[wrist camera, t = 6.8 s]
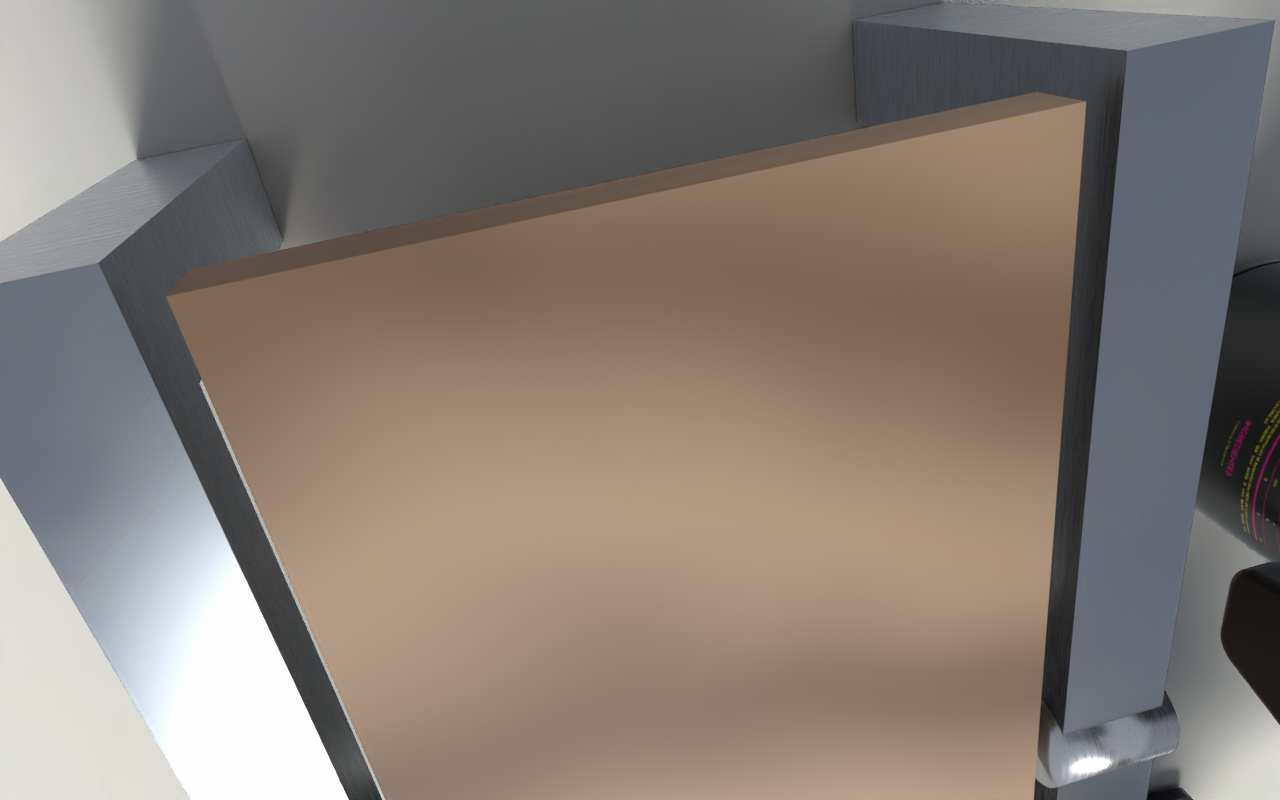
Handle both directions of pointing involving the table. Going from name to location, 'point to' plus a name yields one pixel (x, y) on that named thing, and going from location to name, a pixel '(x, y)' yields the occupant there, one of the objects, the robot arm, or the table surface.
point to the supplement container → (1246, 416)
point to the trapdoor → (679, 467)
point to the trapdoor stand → (885, 92)
